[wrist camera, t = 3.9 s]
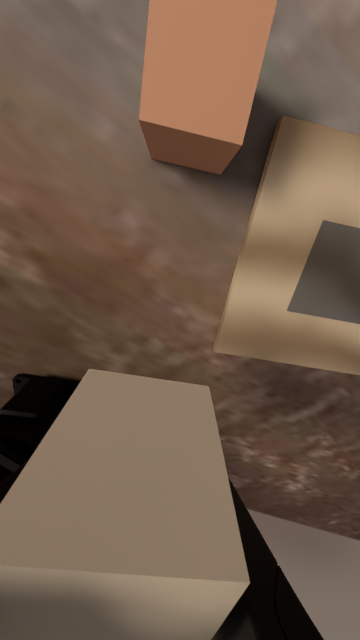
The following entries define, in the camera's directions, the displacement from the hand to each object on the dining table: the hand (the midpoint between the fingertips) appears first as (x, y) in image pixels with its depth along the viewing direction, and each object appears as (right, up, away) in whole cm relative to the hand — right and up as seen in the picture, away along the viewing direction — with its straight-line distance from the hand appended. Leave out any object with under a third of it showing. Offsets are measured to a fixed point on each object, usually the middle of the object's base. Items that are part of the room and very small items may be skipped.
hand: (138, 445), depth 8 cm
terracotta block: (+2, +17, +5) cm, 18 cm away
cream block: (0, 0, +1) cm, 1 cm away
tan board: (+14, +8, +9) cm, 18 cm away
